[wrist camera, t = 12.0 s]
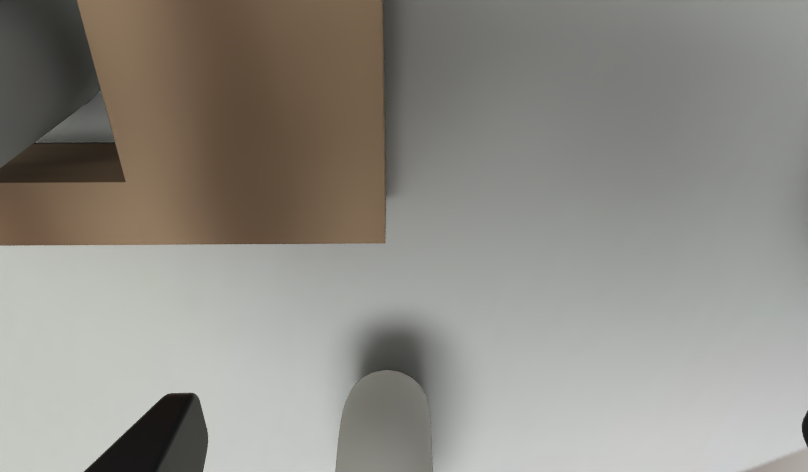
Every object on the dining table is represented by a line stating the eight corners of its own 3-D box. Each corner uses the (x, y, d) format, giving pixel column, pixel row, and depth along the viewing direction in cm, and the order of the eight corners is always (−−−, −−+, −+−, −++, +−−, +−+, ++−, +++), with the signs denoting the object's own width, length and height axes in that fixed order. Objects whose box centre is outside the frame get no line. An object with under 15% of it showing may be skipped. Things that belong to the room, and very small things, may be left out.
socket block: (380, -168, 16) (378, -175, 13) (386, 199, 22) (384, 243, 19) (-231, -170, 16) (-355, -178, 13) (-61, 201, 21) (-122, 246, 19)
